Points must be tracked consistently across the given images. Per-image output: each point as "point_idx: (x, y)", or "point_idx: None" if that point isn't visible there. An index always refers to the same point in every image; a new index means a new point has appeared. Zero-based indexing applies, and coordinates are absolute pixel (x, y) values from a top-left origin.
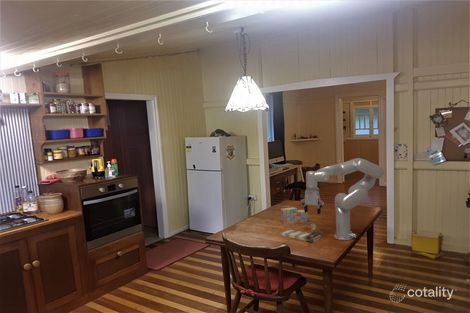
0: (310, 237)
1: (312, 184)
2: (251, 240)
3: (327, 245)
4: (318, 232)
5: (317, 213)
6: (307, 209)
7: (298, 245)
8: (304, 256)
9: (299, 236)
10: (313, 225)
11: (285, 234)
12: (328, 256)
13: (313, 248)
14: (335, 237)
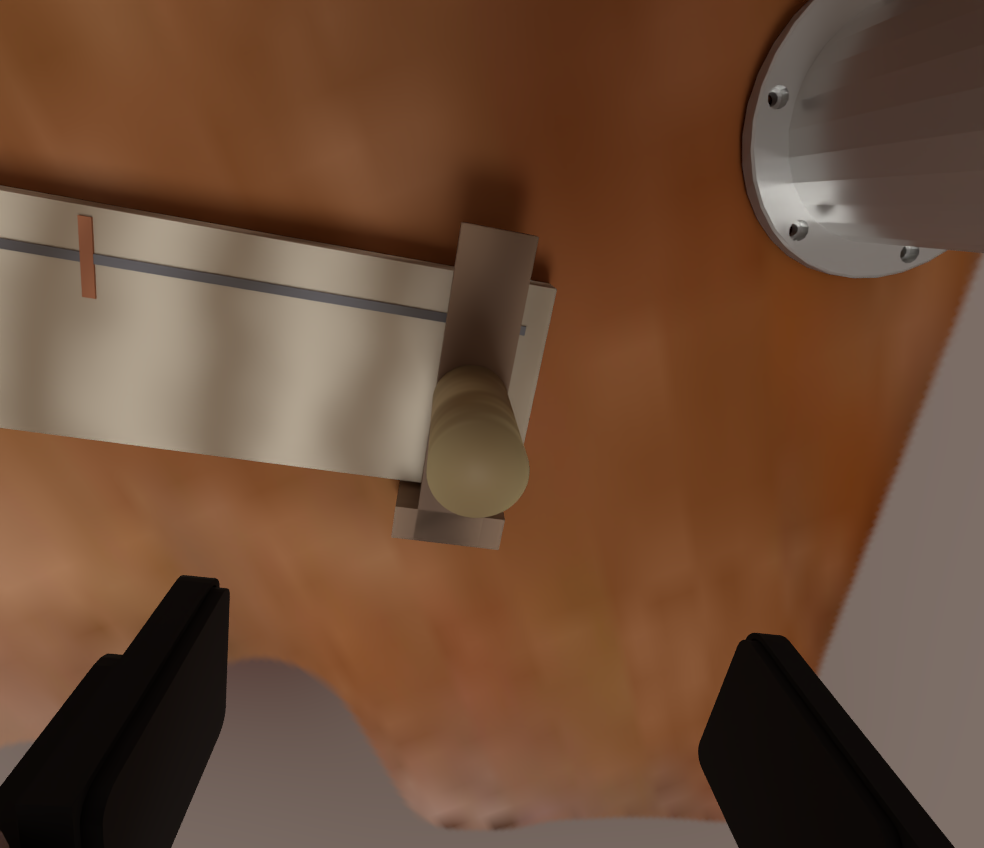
0: (471, 543)
1: None
2: None
3: (683, 518)
4: (527, 294)
5: (709, 773)
6: (191, 651)
7: (366, 634)
8: (523, 824)
9: (271, 461)
10: (497, 507)
11: (10, 423)
12: None
13: (551, 649)
14: (771, 232)
